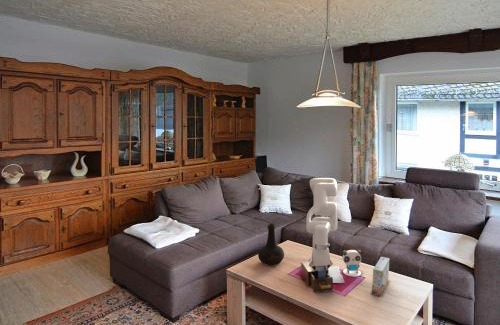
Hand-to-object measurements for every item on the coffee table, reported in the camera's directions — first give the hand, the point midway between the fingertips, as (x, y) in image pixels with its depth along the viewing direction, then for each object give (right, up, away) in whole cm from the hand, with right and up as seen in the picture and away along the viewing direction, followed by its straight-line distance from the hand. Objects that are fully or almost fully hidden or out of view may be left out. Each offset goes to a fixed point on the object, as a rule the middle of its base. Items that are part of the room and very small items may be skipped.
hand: (320, 275), depth 204 cm
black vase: (-27, -4, +39) cm, 47 cm away
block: (0, 0, 0) cm, 0 cm away
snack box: (+36, -8, +2) cm, 37 cm away
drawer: (0, -7, +1) cm, 8 cm away
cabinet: (-1, -7, +12) cm, 14 cm away
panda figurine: (+24, -5, +22) cm, 33 cm away
